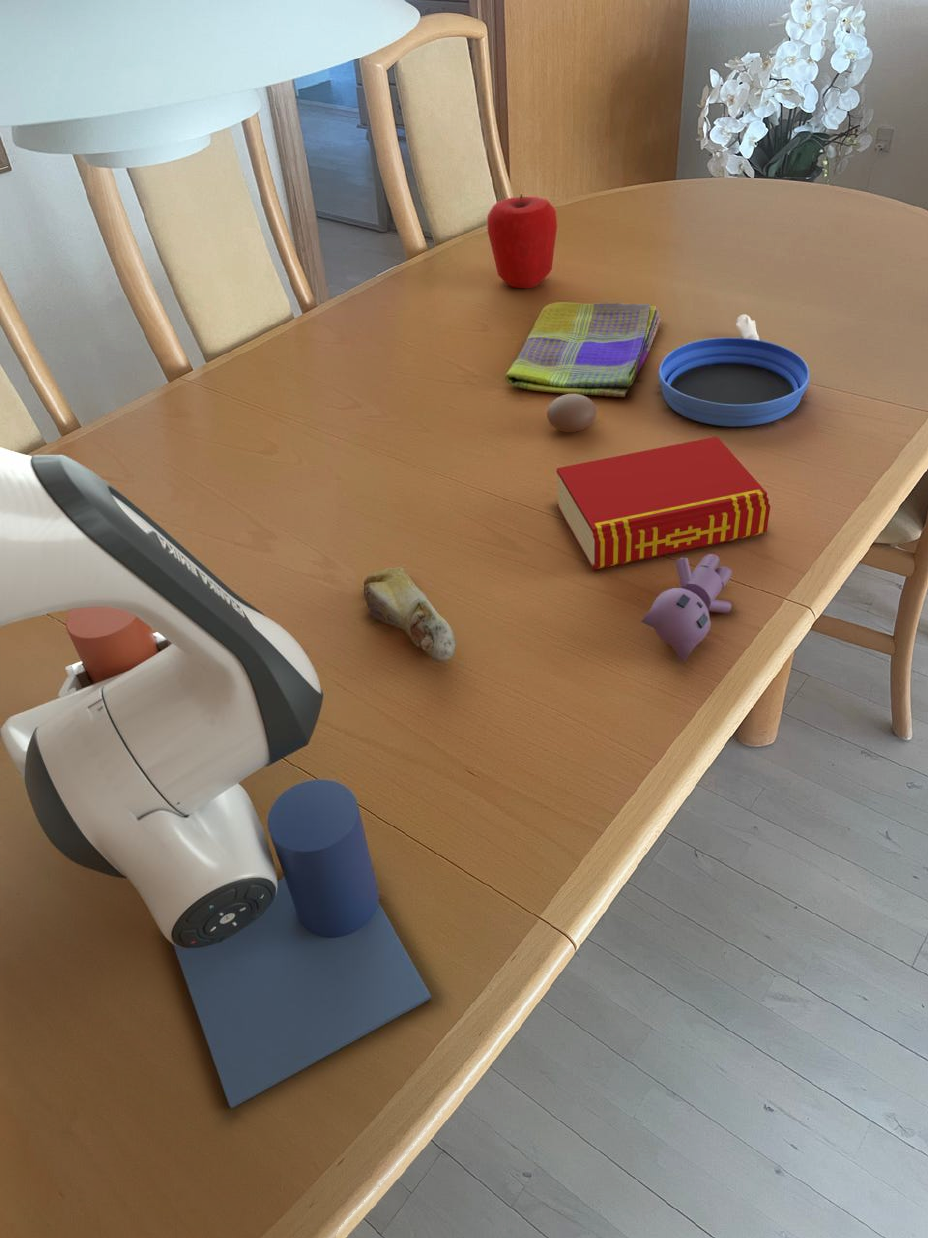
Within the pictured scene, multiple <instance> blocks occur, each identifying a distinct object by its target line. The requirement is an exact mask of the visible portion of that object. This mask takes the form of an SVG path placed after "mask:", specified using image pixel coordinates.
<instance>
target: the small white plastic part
mask: <svg viewBox="0 0 928 1238" xmlns="http://www.w3.org/2000/svg"><path fill="white" fill-rule="evenodd" d="M735 328H737V330H738V331H739V334H740V335H741V338H747V339H755V340H760V336H759V334H758V332H757V327H756V321H755V320H752V318H751V317H750V316H749V315H747V314H743V313H742V314H741V315H739V316H737V318H736V323H735Z"/></svg>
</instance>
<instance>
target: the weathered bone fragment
mask: <svg viewBox="0 0 928 1238" xmlns="http://www.w3.org/2000/svg"><path fill="white" fill-rule="evenodd" d="M363 586H364V587H363V596H364V600H365V602H366V605H367V608H368V612H369V614H370V615H371V617H372V618H374V619H375V620H377V621H380V622H381V623H383V624H385V625H388V626H389V625H390V626H393V627H396V628H397V629H401V630H404V631H405V634H406V635H407V636H409V638H410V640H411V642H412V643H413V644H414V645H415V646H416V647H417V648H418V649H422V650H423V651H424V652H425V654H426V655H427V657H428V658H430V659H431V660H432V661H434V662H436V663H444V662H448V661H449V660H450V659H451V658H452V657H453V655H454V654H455V652H456V649H457V641H456V638H455V635H454V631H453V630H452V627H451V626H450V624H449V623H448V622H447V620H446V619H445V618H444V617H443V616H441V614H439V613H438V612H437V610H436V609H435V607H434V606H433V604H432V603H431V602H430V601H429V598H428V597H427V595H426V594H425V593H424V592H423V591H422V590H421V589H420V588H419V587H418V586H417V585H416V584H415V582H413V580H412V579H411V577H410V576H409V574H408V573H407V571H406V570H405V569H404V568H403V567H400V566H399V567H397V566H396V567H390V568H386V569H385V568H384V569H383V570H379V571H377V572H373V573H371V574H370V575H368V576H367V577H365V578H364V581H363Z"/></svg>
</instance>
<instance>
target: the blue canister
mask: <svg viewBox="0 0 928 1238" xmlns="http://www.w3.org/2000/svg"><path fill="white" fill-rule="evenodd" d="M267 830H268V833H269V836H270V839H271V842H272V846H273V848H274V850H275V853H276V857H277V859H278V862H279V865H280V868H281V871H282V874H283V878H285V880H286V883H287V886H288V889H289V892H290V894H291V897H292V900H293V903H294V906H295V909H296V912H297V915H298V918H299V920H300V922H301V923H302V925H303V926H304V927H305V928H306V929H307V930H308V931H310V932H312V933H313V934H316V935H318V936H321V937H327V938H335V937H342V936H346V935H349V934H351V933H353V932H355V931H357V930H359V929H360V928H362V927H363V926H364V925H365V924H366V923H367V922H368V921H369V920H370V919H371V917H372V916H373V914H374V913H375V911H376V908H377V905H378V902H380V901H379V900H380V891H379V888H378V883H377V878H376V875H375V870H374V865H373V862H372V858H371V853H370V849H369V846H368V842H367V841H368V840H367V837H366V832H365V828H364V824H363V820H362V816H361V812H360V807H359V803H358V800H357V798H356V795H355V794H354V792H353V791H352V790H351V789H350V788H349V787H347V785H345V784H343V783H341V782H339V781H337V780H332V779H325V778H317V779H309V780H305V781H302V782H299V783H297V784H294V785H293V786H291V787H289V788H287V789H286V790H285V791H283V792H282V793H281V794H280V795H279V796H278V797H277V798H276V800H274V802H273V804H272V805H271V807H270V810H269V812H268V816H267Z"/></svg>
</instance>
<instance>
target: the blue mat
mask: <svg viewBox="0 0 928 1238" xmlns="http://www.w3.org/2000/svg"><path fill="white" fill-rule="evenodd" d="M277 884H278V887H277V892H276V895H275V898H274V900H273V902H272V903H271V905H270V906H269V907H268V908H267V909H266V911H265V912H264V913H263V914H262V915H261V916H260V917H259V918H258V919H256V920H255V921H254V922H252V923H251V924H249V925H248V926H247V927H245V928H244V929H242V930H241V931H239V932H238V933H236V934H234V935H233V936H231V937H229V938H228V939H226V940H224V941H222V942H220V943H215V944H213V945H209V946H205V947H200V948H181V947H178V946H175V945H174V944H172V945H173V948H174V949H173V950H174V951H175V954H176V957H177V960H178V963H179V965H180V966H179V967H180V968H181V972H182V974H183V977H184V980H185V982H186V985H187V988H188V991H189V994H190V997H191V1000H192V1003H193V1006H194V1009H195V1012H196V1014H197V1018H198V1020H199V1023H200V1026H201V1029H202V1032H203V1034H204V1038H205V1040H206V1043H207V1046H208V1049H209V1052H210V1055H211V1058H212V1060H213V1063H214V1067H215V1069H216V1072H217V1075H218V1077H219V1080H220V1084H221V1086H222V1090H223V1093H224V1096H225V1098H226V1101H227V1103H228V1107H229V1108H230V1109H234V1108H235V1107H237V1106H239V1105H241V1104H242V1103H244V1102H246V1101H248V1100H250V1099H253V1097H255V1096H257V1095H259V1094H261V1093H262V1092H264V1091H266V1090H268V1089H270V1088H271V1087H273V1086H275V1085H277V1084H279V1083H281V1082H282V1081H284V1080H286V1079H288V1078H290V1077H291V1076H293V1075H295V1074H297V1073H299V1072H301V1071H302V1070H304V1069H306V1068H308V1067H309V1066H311V1065H313V1064H315V1063H317V1062H319V1061H320V1060H323V1059H324V1058H326V1057H328V1056H330V1055H332V1054H333V1053H335V1052H337V1051H340V1049H343V1048H345V1047H346V1046H348V1045H350V1044H352V1043H353V1042H355V1041H357V1040H359V1039H361V1038H363V1037H364V1036H366V1035H368V1034H370V1033H371V1032H373V1031H375V1030H377V1029H378V1028H380V1027H382V1026H384V1025H386V1024H388V1023H390V1022H392V1021H393V1020H395V1019H397V1018H399V1017H400V1016H402V1015H405V1014H406V1013H408V1012H410V1011H412V1010H413V1009H415V1008H417V1007H418V1006H421V1005H422V1004H424V1003H426V1002H428V1001H429V1000H431V999H432V996H431V994H430V992H429V990H428V988H427V986H426V984H425V983H424V981H423V979H422V978H421V976H420V974H419V972H418V970H417V968H416V966H415V964H414V963H413V961H412V958H411V957H410V956H409V954H408V952H407V950H406V948H405V947H404V945H403V943H402V942H401V940H400V937H399V936H398V934H397V933H396V930H395V929H394V927H393V925H392V923H391V921H390V920H389V918H388V917H387V914H386V913H385V911H384V910H383V908H382V906H381V904H380V901H378V905H377V908H376V911H375V913H374V914H373V916H372V917H371V919H370V920H369V921H368V922H367V923H366V924H365V925H364V926H363V927H362V928H360V929H359V930H357V931H355V932H353V933H351V934H349V935H346V936H342V937H335V938H327V937H321V936H318V935H316V934H313V933H312V932H310V931H308V930H307V929H306V928H305V927H304V926H303V925H302V923H301V922H300V920H299V918H298V915H297V912H296V909H295V906H294V903H293V900H292V897H291V894H290V892H289V889H288V886H287V883H286V880H285V877H282V878H281V879H277Z"/></svg>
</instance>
